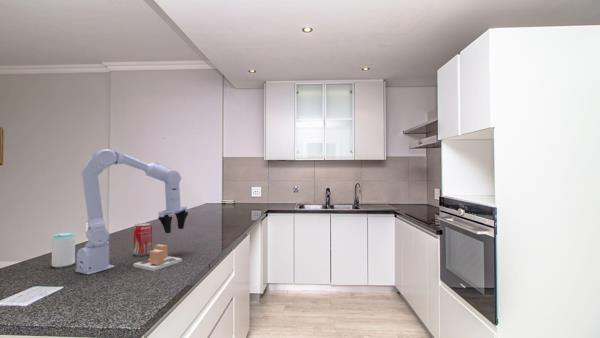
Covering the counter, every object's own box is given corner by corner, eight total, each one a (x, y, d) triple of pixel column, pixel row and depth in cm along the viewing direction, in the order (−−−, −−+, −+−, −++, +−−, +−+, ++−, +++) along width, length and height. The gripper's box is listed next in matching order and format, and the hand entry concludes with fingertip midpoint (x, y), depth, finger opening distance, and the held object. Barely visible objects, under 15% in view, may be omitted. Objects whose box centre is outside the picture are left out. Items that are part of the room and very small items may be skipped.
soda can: (155, 252, 137) (155, 222, 137) (145, 256, 130) (145, 225, 130) (140, 251, 138) (140, 222, 138) (129, 256, 131) (129, 225, 131)
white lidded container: (62, 268, 114) (62, 236, 114) (46, 267, 115) (46, 235, 115) (79, 263, 120) (79, 232, 121) (64, 262, 122) (64, 231, 122)
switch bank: (153, 271, 111) (153, 267, 111) (133, 266, 116) (133, 263, 116) (181, 261, 123) (181, 258, 123) (162, 258, 128) (162, 254, 128)
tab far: (161, 258, 122) (161, 246, 122) (154, 257, 124) (154, 245, 124) (167, 256, 124) (167, 244, 125) (160, 255, 126) (160, 243, 126)
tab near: (157, 264, 114) (157, 251, 114) (149, 263, 115) (149, 250, 115) (163, 262, 116) (164, 249, 116) (156, 261, 118) (156, 248, 118)
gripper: (167, 201, 122) (169, 235, 123) (192, 196, 136) (193, 227, 136) (153, 201, 125) (155, 234, 125) (179, 196, 138) (180, 226, 139)
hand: (174, 230), depth 131 cm, fingers open, 7 cm apart
